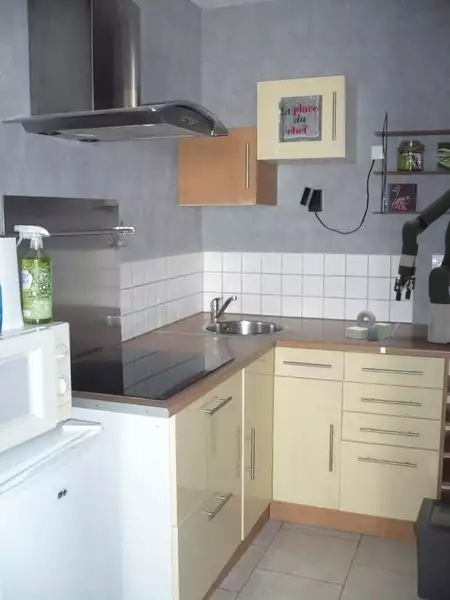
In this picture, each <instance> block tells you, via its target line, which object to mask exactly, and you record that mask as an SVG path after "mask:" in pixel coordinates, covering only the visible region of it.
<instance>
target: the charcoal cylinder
mask: <svg viewBox="0 0 450 600" xmlns="http://www.w3.org/2000/svg"><path fill="white" fill-rule="evenodd" d="M366 339H367V341H369V340H370V341H371V342H378V341H379V338H378V326H368V335H367V338H366ZM370 341H369V342H370Z"/></svg>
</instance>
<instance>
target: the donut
mask: <svg viewBox="0 0 450 600" xmlns="http://www.w3.org/2000/svg"><path fill="white" fill-rule="evenodd" d="M365 318H367V319H368V323H366V322H365ZM356 323H357V327H363V328H368V326H373V324H376V323H377V319H376V315H375V314H374V313H373V312H372V311H371V310H368V309H364V310H361V311H360V312H359V313H358V314H357V316H356Z"/></svg>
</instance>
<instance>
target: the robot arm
mask: <svg viewBox="0 0 450 600" xmlns="http://www.w3.org/2000/svg"><path fill="white" fill-rule="evenodd" d="M449 210H450V188H449V189H447V190H446V191H445V192H444V193H443V194H441V195H440V196H438V198H436V199H435V200H434V201H433V202H431V203H430V204H429V205H427V206H426V207H425V208H424V209H422V210H421V212H420V213H419V215H418V216H416V217H415V218H414V219H410V220H406V221H405V222H404V224H403V225H402V229H401V239H402V240H401V241H402V246H401V252H400V253H401V254H400V257H399V262H398V269H397V271H398V272H397V274H398V275H400V276H399V277H395V280H394V288H393V291H394V292H395V301H397V302H401V300H402V293H403V291H404V290H406V291H405V295H404V299H405V300H411V296H412V295H411V294H412V292H413V290H415V288H416V278H417V277H416V272H417V271H416V270H417V265H418V253H419V243H418V239H417V238H418V236H419V235H420V234H422V233H424V232H425V231H426V230H427V229H428V228H429V227H430V226H431V225H432V224H433V223H435V222H436V221H437V220H439V219H440V218H442V216H444V215H445V214H446V213H447V212H448V211H449ZM428 297H429V309H428V327H427V328H428V329H427V341H428V342H430V343H435V344H449V343H450V220H449V221H448V223H447V227H446V230H445V234H444V255H443V258H442V261H441V264H440V266H436V267H433V268H432V269H431V270H430V272H429V274H428Z"/></svg>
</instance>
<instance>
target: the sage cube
mask: <svg viewBox="0 0 450 600" xmlns="http://www.w3.org/2000/svg"><path fill="white" fill-rule="evenodd" d="M392 325H393V324H391V323H384V322H376V323H375V324H373V326H378V339H383V340H385V339H389V338H392Z"/></svg>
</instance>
